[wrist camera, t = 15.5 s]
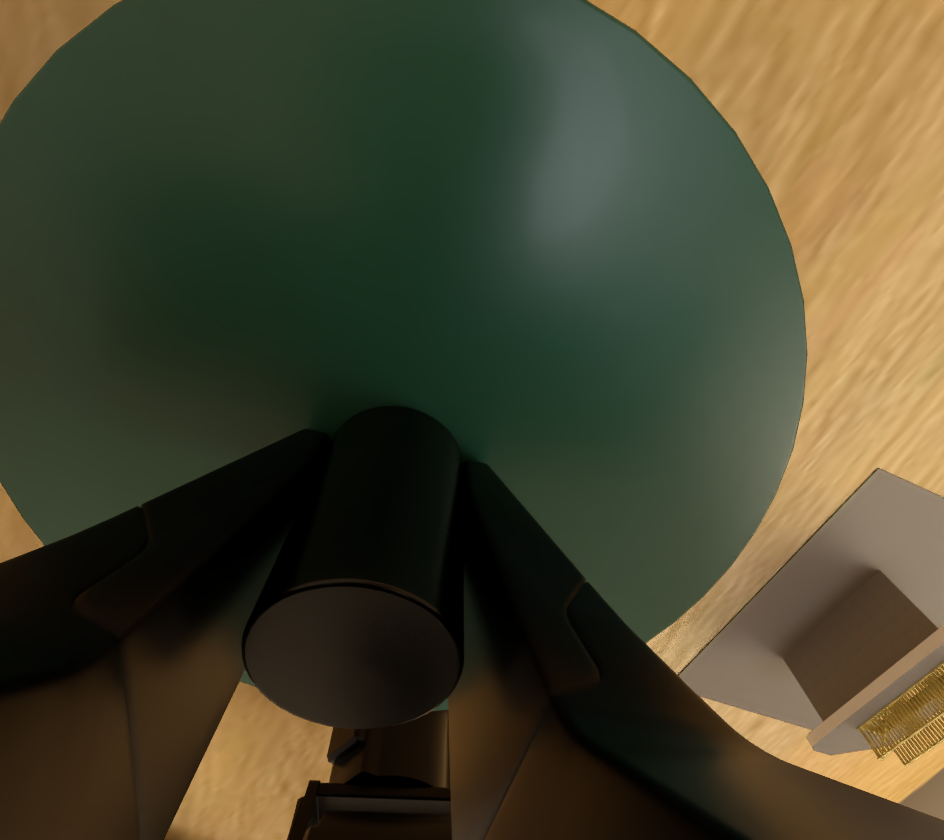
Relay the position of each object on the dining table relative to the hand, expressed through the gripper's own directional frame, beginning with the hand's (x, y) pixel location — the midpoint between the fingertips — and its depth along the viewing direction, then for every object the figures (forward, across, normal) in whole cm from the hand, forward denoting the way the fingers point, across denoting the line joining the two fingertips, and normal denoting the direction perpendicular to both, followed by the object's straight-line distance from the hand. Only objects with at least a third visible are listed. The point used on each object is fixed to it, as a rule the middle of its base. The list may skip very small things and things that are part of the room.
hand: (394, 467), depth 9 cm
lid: (0, 0, 0) cm, 1 cm away
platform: (+13, -27, +13) cm, 33 cm away
